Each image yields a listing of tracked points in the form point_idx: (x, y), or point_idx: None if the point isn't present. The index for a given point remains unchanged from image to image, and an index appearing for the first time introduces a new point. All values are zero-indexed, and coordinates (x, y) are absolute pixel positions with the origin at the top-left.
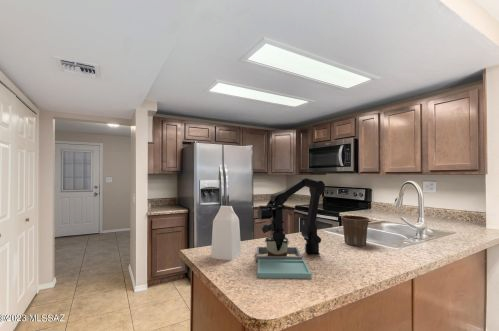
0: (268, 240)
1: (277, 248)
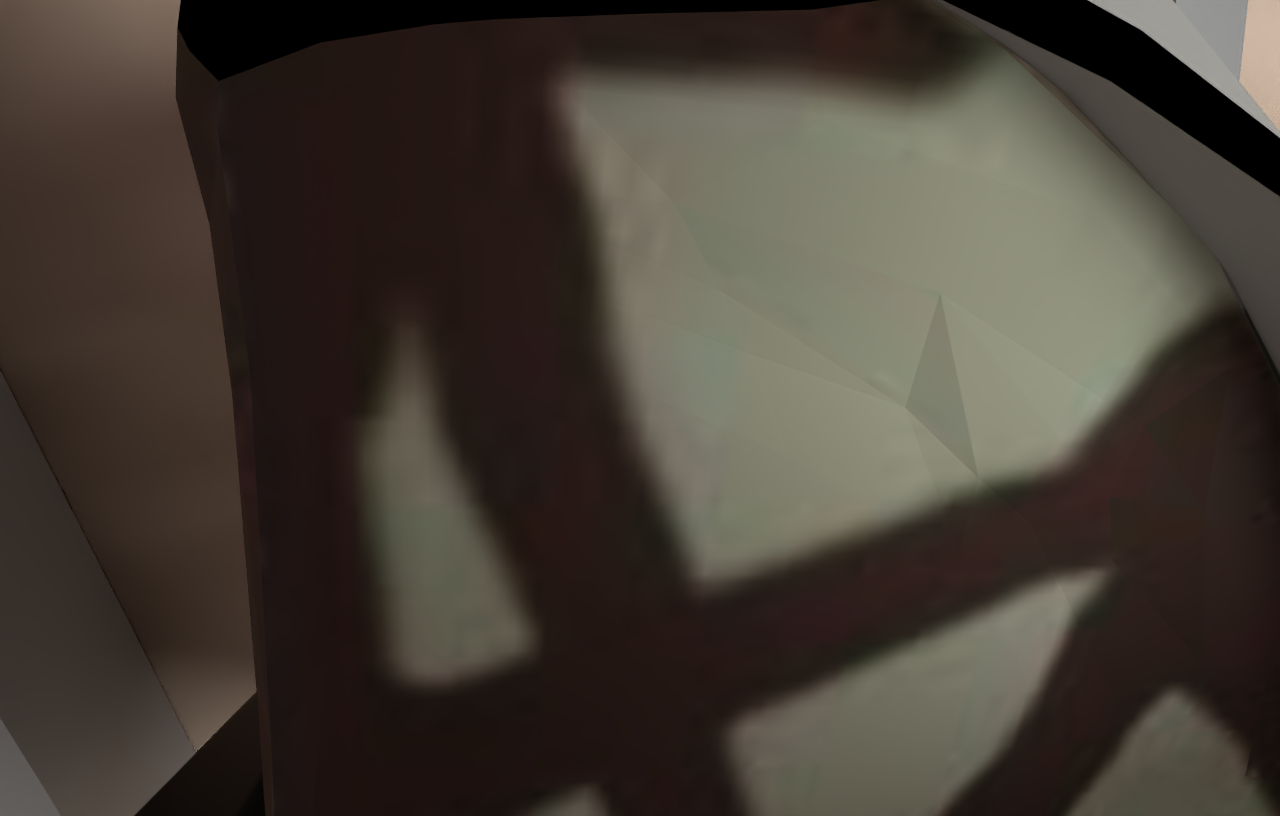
0: (227, 220)
1: (237, 743)
